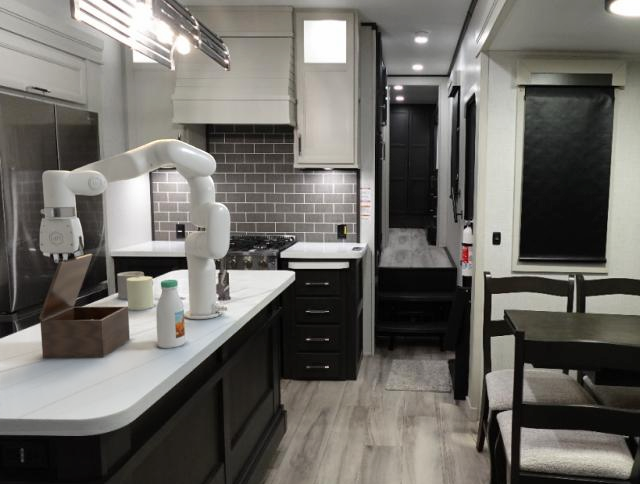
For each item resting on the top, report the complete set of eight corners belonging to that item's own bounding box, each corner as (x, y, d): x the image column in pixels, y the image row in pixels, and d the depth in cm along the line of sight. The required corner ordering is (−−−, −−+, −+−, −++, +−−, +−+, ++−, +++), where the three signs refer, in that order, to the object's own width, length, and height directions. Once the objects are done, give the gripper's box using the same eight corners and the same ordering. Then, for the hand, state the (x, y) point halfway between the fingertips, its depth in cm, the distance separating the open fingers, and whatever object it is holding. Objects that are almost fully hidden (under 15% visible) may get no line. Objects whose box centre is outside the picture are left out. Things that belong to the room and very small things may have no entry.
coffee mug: (115, 299, 206) (113, 276, 204) (122, 294, 215) (121, 271, 214) (149, 298, 209) (148, 275, 208) (155, 293, 218) (154, 271, 217)
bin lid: (92, 254, 152) (90, 253, 152) (61, 263, 137) (58, 262, 137) (74, 305, 154) (71, 304, 153) (41, 319, 138) (38, 318, 138)
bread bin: (129, 339, 156) (128, 306, 155) (103, 357, 140) (101, 320, 139) (75, 340, 155) (73, 306, 154) (42, 358, 139) (40, 320, 138)
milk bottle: (167, 350, 147) (164, 284, 145) (152, 345, 151) (149, 281, 149) (190, 343, 153) (188, 280, 151) (175, 338, 157) (173, 277, 155)
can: (149, 303, 201) (148, 274, 200) (157, 307, 195) (156, 277, 193) (124, 306, 195) (123, 277, 193) (131, 311, 188) (130, 280, 187)
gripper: (24, 214, 138) (29, 278, 141) (80, 214, 139) (83, 278, 141) (42, 212, 146) (46, 273, 148) (94, 212, 147) (98, 273, 149)
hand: (64, 275), depth 145 cm, fingers closed
